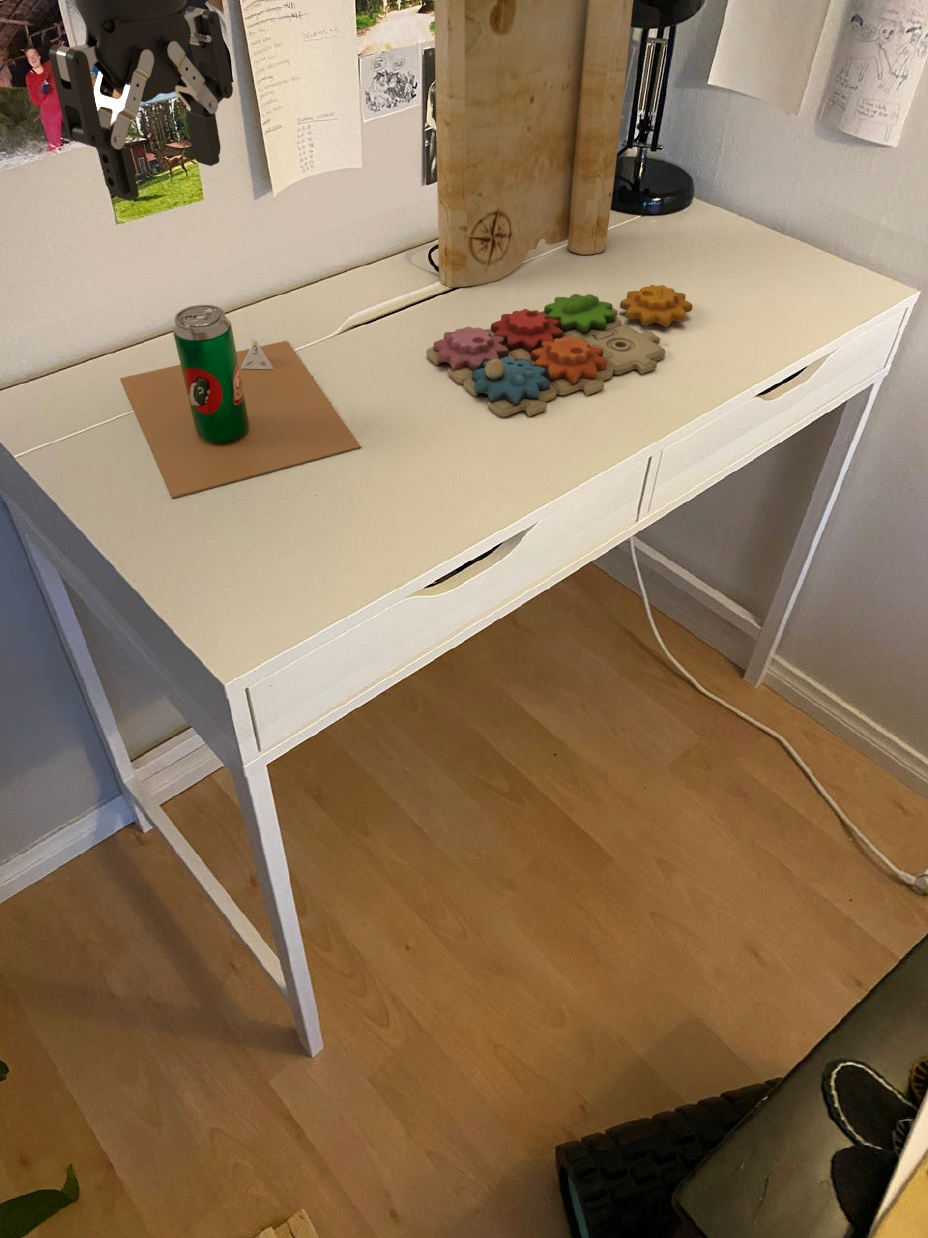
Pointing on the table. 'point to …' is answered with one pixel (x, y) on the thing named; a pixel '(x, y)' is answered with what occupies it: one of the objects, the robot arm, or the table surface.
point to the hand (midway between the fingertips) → (168, 179)
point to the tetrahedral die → (256, 359)
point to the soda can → (211, 373)
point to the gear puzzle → (557, 348)
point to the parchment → (525, 128)
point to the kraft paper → (276, 437)
